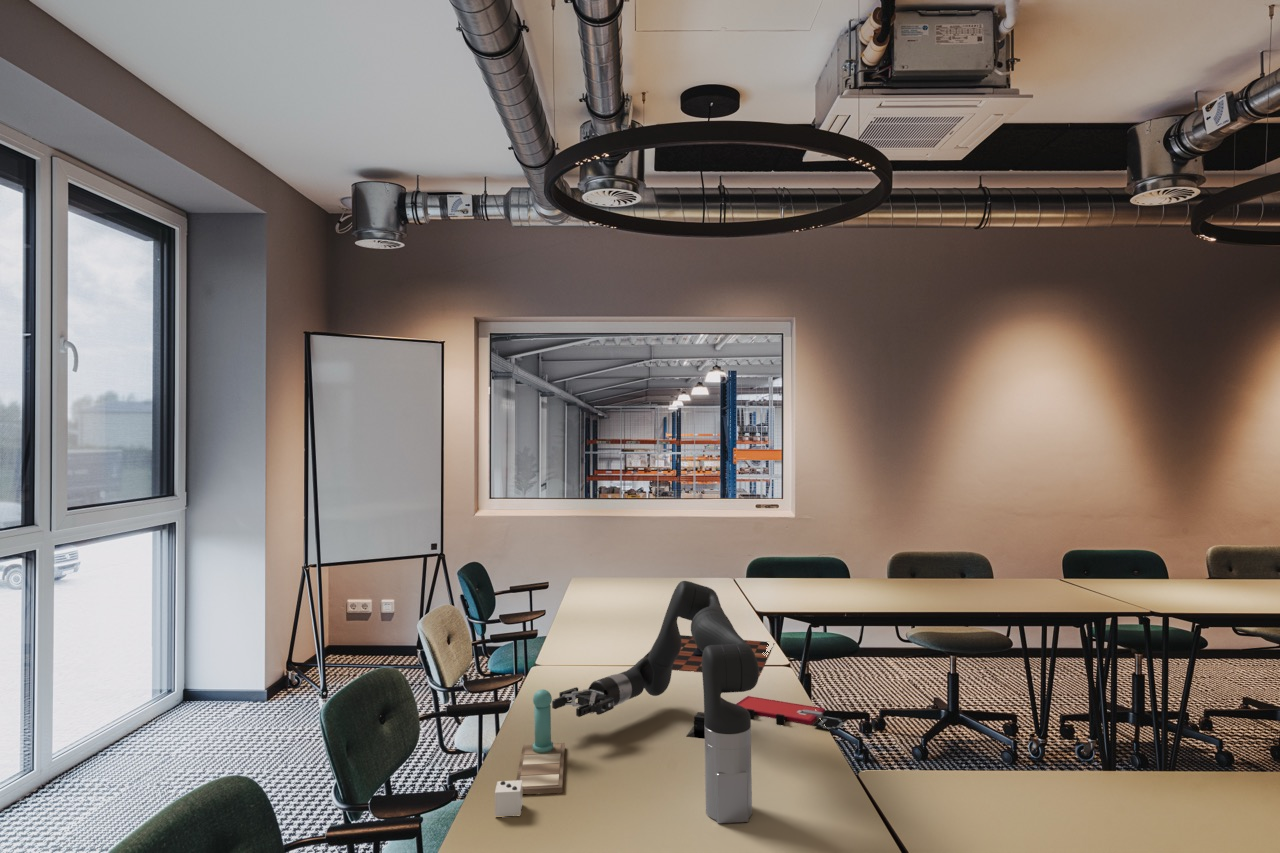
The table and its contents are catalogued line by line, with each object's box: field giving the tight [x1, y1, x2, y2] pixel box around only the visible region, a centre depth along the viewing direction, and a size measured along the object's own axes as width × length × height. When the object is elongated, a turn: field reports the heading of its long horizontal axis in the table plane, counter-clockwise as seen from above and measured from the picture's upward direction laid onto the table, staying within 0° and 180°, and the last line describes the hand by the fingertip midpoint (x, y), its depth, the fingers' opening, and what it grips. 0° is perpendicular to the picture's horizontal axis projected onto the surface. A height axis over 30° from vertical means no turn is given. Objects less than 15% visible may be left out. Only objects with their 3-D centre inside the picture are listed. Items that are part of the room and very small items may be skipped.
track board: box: [515, 742, 566, 795], centre depth 176 cm, size 24×10×1 cm, turn 4°
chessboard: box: [642, 634, 771, 677], centre depth 266 cm, size 40×40×11 cm
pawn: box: [532, 689, 554, 753], centre depth 184 cm, size 5×5×14 cm
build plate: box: [685, 711, 705, 740], centre depth 198 cm, size 12×7×5 cm, turn 161°
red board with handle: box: [736, 695, 848, 731], centre depth 208 cm, size 30×3×15 cm
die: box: [494, 780, 523, 817], centre depth 157 cm, size 5×5×6 cm
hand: (565, 708), depth 190 cm, fingers open, 8 cm apart
